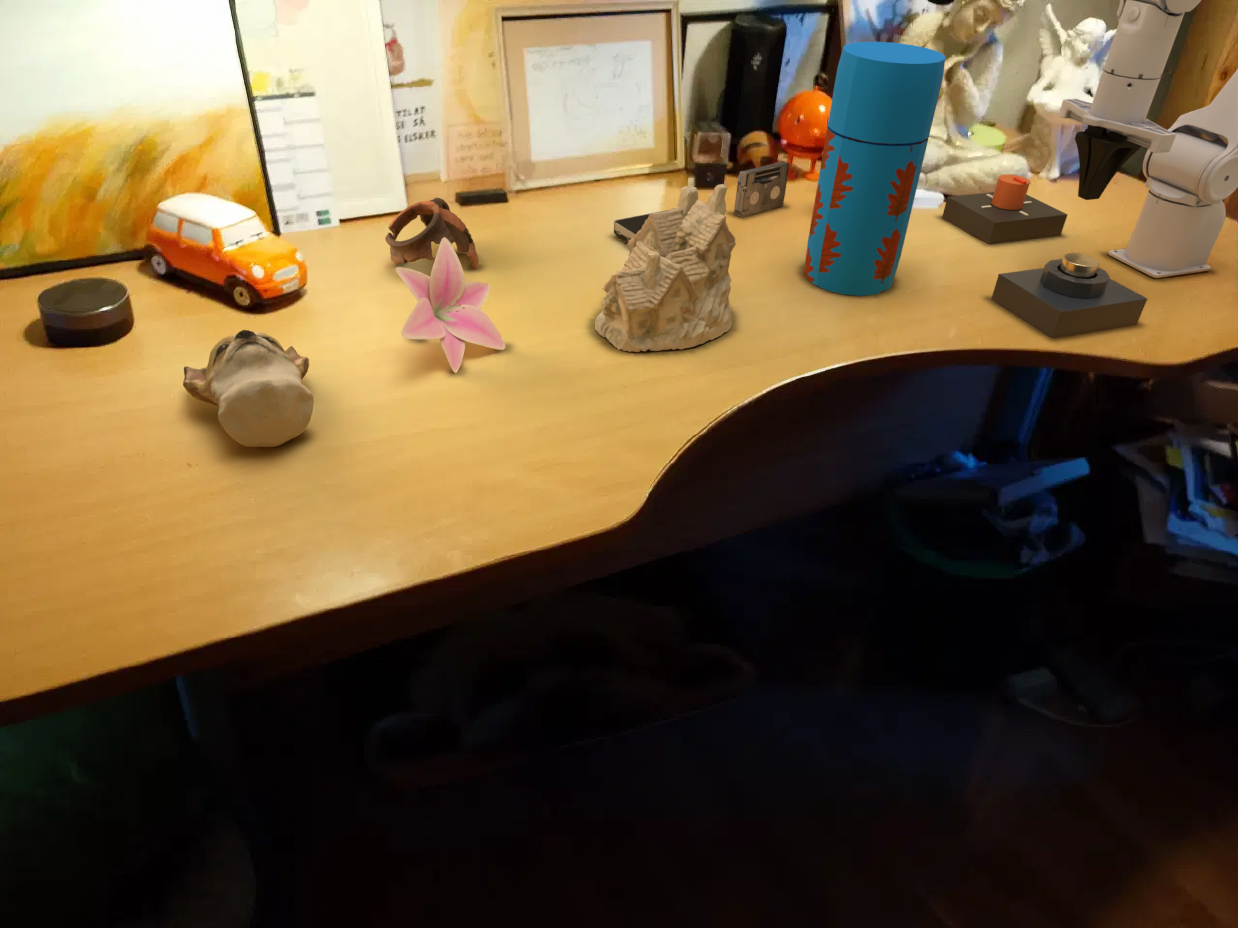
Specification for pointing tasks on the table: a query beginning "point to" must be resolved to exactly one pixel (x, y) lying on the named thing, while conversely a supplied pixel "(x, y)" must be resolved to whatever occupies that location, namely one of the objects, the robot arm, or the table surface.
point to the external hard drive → (630, 226)
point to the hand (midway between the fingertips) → (1088, 197)
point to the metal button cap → (1079, 266)
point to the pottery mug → (429, 232)
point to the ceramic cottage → (673, 279)
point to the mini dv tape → (761, 189)
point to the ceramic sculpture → (254, 389)
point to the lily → (449, 307)
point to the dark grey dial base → (1003, 218)
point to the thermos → (871, 164)
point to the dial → (1010, 192)
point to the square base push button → (1067, 300)
